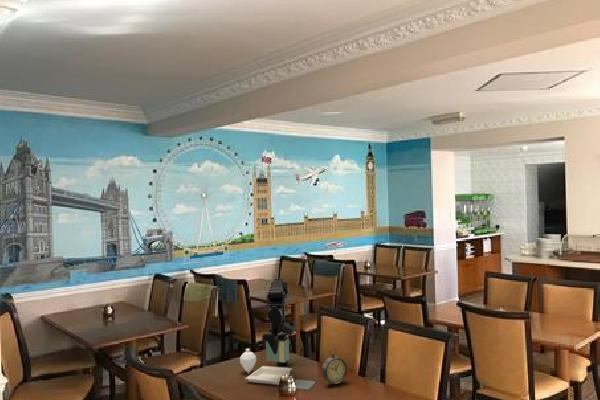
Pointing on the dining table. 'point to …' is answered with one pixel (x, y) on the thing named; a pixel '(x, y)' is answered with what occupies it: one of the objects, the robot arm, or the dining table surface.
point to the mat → (304, 384)
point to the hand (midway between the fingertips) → (277, 352)
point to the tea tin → (278, 351)
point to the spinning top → (248, 360)
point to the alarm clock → (334, 369)
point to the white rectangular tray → (268, 374)
